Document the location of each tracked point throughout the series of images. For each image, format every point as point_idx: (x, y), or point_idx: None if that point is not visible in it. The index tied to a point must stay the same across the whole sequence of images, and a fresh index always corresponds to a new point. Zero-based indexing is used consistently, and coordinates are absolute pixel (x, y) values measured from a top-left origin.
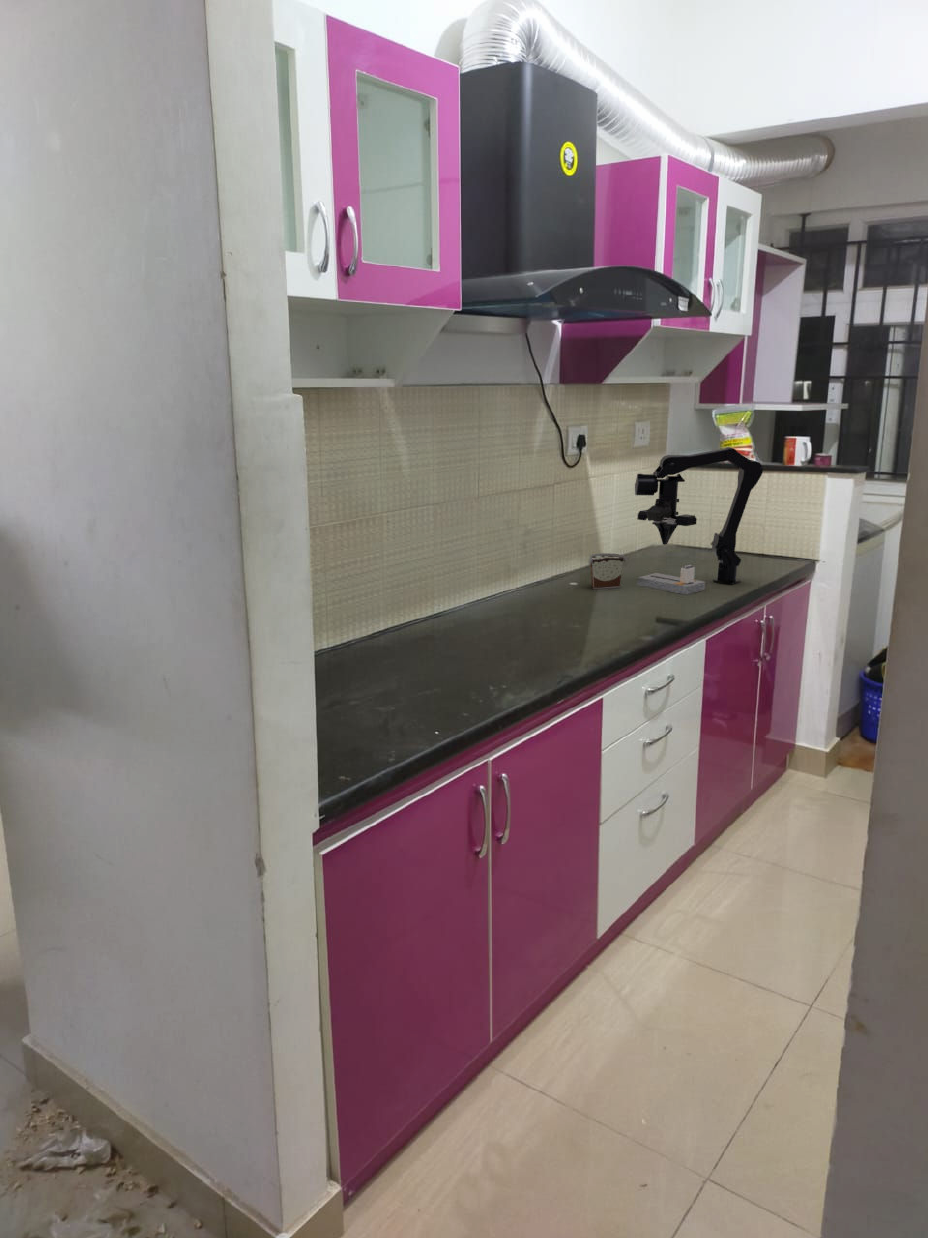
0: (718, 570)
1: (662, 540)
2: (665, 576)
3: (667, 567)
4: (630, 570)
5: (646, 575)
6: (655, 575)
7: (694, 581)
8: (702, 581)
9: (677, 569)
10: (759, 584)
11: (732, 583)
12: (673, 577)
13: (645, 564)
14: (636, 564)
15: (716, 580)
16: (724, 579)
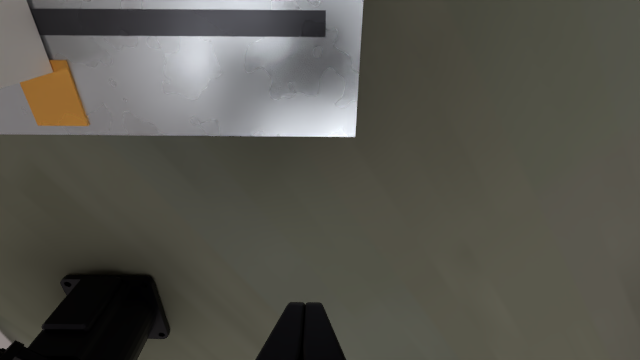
0: (87, 317)
1: (324, 340)
2: (245, 87)
3: (448, 354)
4: (576, 226)
5: (360, 9)
6: (311, 62)
7: (20, 94)
8: (3, 131)
9: (398, 351)
10: (30, 340)
11: (65, 287)
12: (190, 99)
13: (550, 346)
14: (587, 328)
15: (134, 283)
16: (75, 285)
